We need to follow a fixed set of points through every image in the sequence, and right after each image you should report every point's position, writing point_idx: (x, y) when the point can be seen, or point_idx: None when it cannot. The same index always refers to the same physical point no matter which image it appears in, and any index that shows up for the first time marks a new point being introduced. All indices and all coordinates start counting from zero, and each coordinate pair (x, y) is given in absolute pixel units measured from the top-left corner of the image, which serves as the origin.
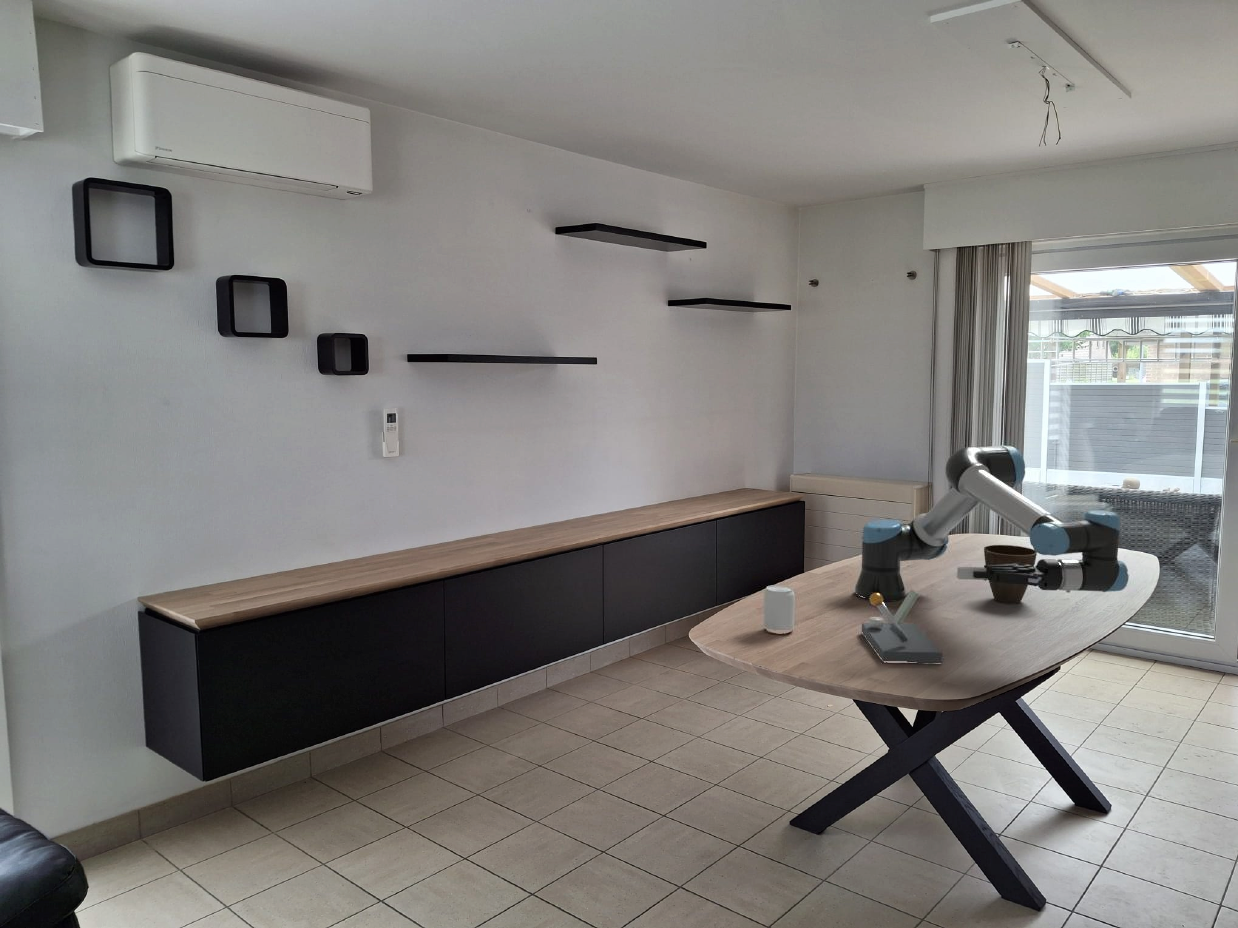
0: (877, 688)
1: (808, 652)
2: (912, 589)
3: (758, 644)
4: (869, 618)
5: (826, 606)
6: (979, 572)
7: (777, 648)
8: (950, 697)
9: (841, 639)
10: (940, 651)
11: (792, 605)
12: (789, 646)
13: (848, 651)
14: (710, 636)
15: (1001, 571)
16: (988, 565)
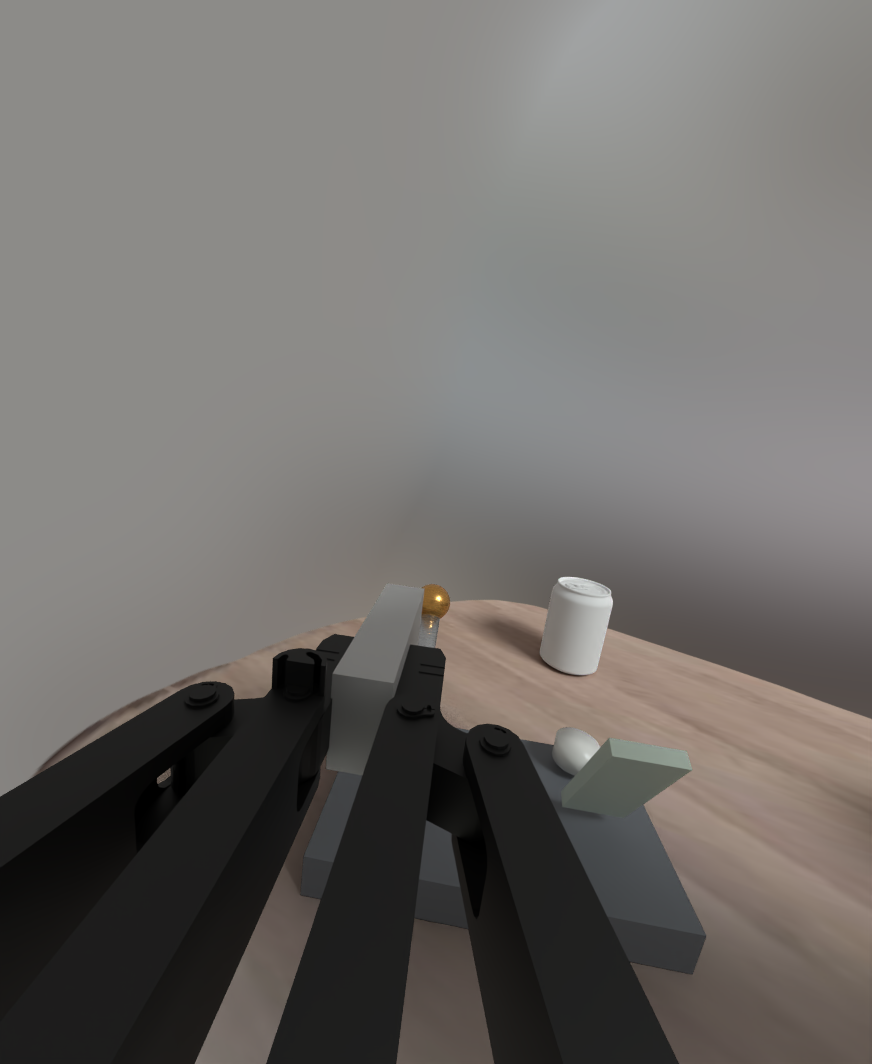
0: (223, 679)
1: (445, 662)
2: (678, 752)
3: (484, 630)
4: (575, 729)
5: (865, 795)
6: (324, 653)
7: (466, 640)
8: None
9: (541, 728)
10: (317, 856)
11: (565, 619)
12: (478, 652)
13: (452, 711)
14: (514, 607)
15: (204, 780)
16: (510, 766)
